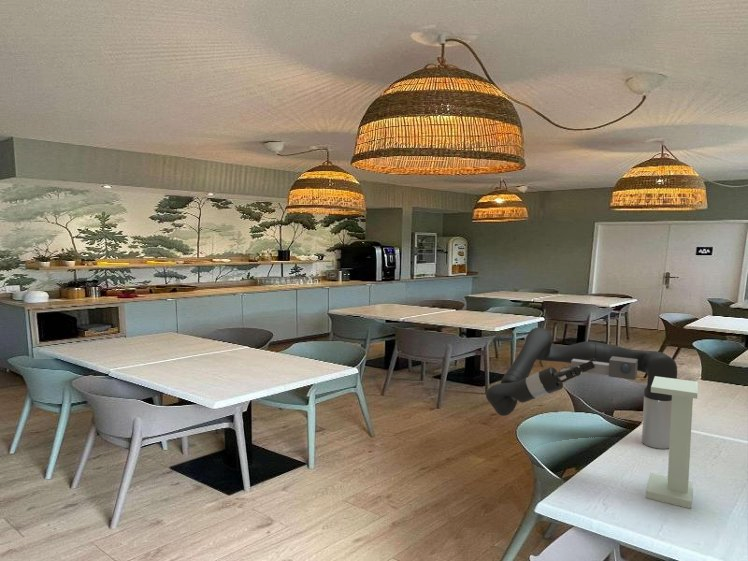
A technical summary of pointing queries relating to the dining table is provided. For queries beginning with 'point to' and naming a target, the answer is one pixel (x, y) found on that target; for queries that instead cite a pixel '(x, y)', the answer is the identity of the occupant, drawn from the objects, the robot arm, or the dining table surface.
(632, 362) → the grey block with bar
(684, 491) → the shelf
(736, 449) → the dining table surface
